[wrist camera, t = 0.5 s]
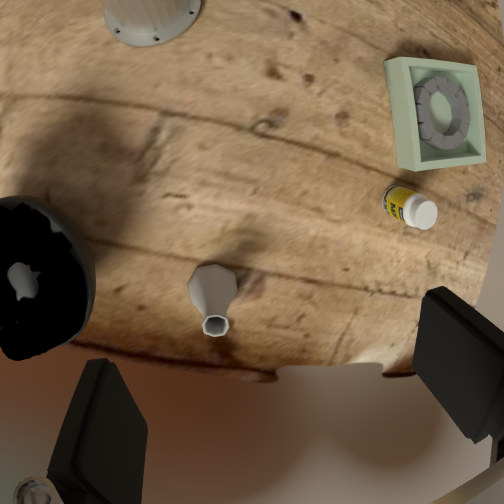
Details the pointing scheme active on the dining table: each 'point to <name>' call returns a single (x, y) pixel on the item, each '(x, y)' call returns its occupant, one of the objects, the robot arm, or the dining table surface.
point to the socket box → (435, 113)
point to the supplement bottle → (409, 207)
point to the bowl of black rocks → (41, 277)
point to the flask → (213, 296)
